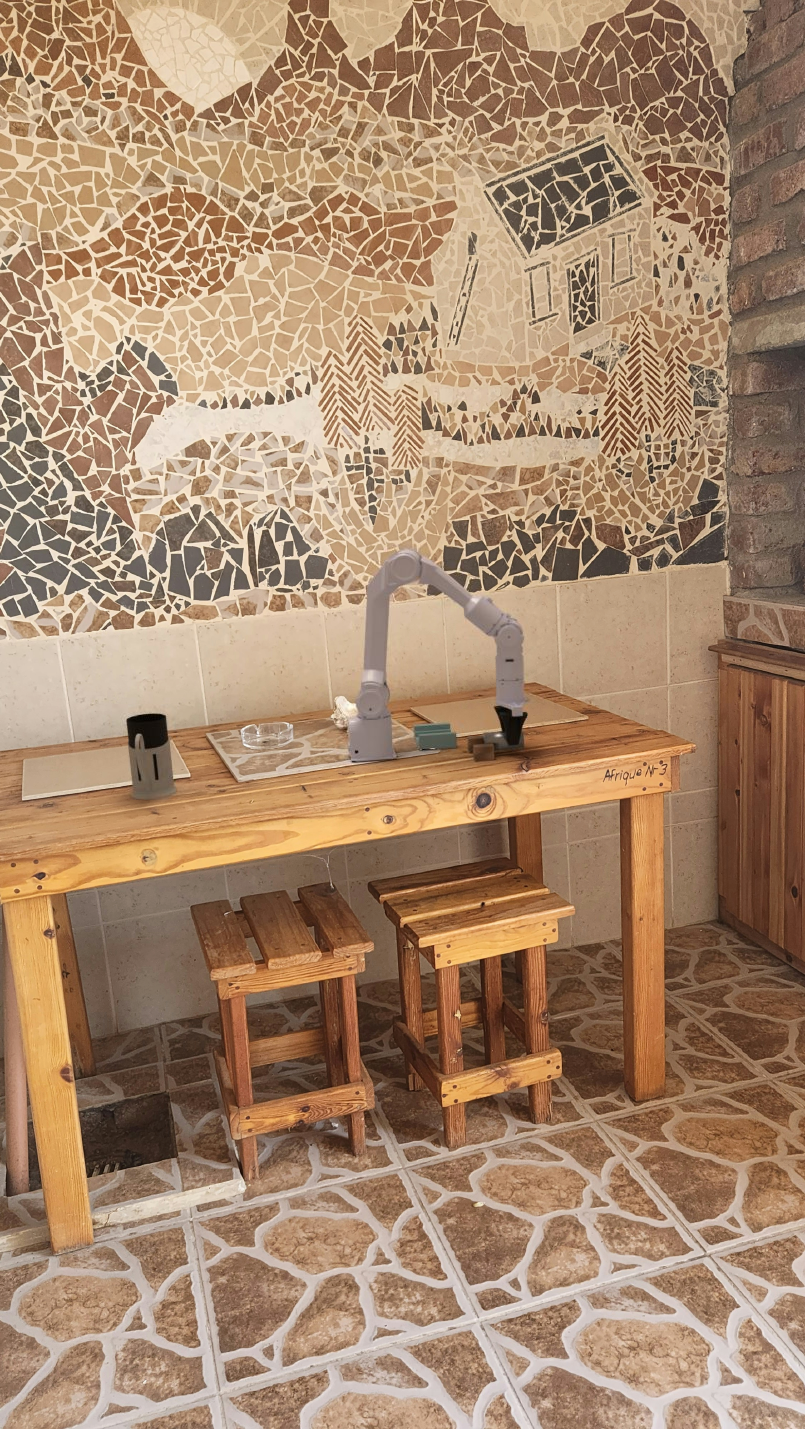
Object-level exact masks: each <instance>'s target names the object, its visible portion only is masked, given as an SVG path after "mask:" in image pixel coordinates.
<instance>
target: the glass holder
mask: <svg viewBox="0 0 805 1429" xmlns="http://www.w3.org/2000/svg"><path fill="white" fill-rule="evenodd" d="M125 722H126V731H127V739H128V742H127V748H128V757H129V758H128V759H129V766H130V775H131V783H132V791H131V794H130V796H131V797H132V798H133V799H135V800H136V799H137V800H146V801H147V800H149V801H150V800H159V799H164V798H167V797H169V796H172V795H174V794H176V793H177V792H178V790H177V787H176V786H175V783H174V770H173V762H172V751H171V743H170V737H169V733H168V722H167V715H166V714H164V713H155V712H154V713H151V712H150V713H143V714H136V715H132V716H130V717H129V716H128V718H126V721H125Z"/></svg>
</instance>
